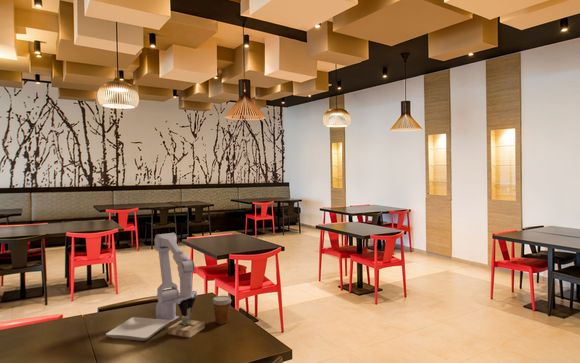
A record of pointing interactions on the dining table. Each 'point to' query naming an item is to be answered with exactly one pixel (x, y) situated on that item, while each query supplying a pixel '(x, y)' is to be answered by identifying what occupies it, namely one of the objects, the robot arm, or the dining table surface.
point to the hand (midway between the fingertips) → (186, 314)
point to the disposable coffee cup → (221, 308)
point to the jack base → (186, 328)
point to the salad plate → (138, 328)
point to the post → (187, 316)
